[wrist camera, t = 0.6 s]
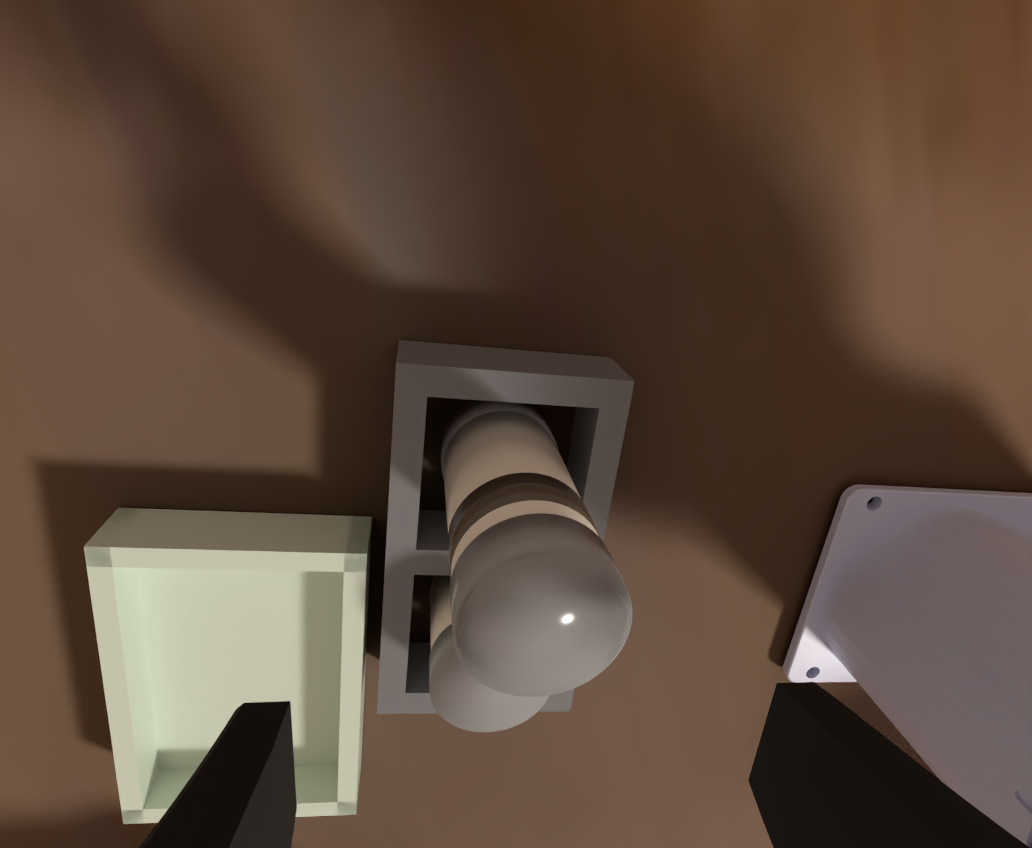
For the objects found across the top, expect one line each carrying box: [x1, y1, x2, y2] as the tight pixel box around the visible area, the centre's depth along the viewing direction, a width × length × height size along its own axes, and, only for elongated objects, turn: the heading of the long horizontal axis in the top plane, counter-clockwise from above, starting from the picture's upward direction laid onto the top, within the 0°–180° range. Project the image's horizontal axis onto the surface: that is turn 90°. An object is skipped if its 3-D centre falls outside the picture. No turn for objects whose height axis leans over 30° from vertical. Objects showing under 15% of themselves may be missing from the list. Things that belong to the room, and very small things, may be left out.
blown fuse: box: [440, 400, 632, 697], centre depth 15 cm, size 3×3×8 cm
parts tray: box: [84, 508, 372, 824], centre depth 19 cm, size 7×10×2 cm
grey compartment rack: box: [377, 340, 635, 732], centre depth 18 cm, size 6×11×4 cm, turn 173°
